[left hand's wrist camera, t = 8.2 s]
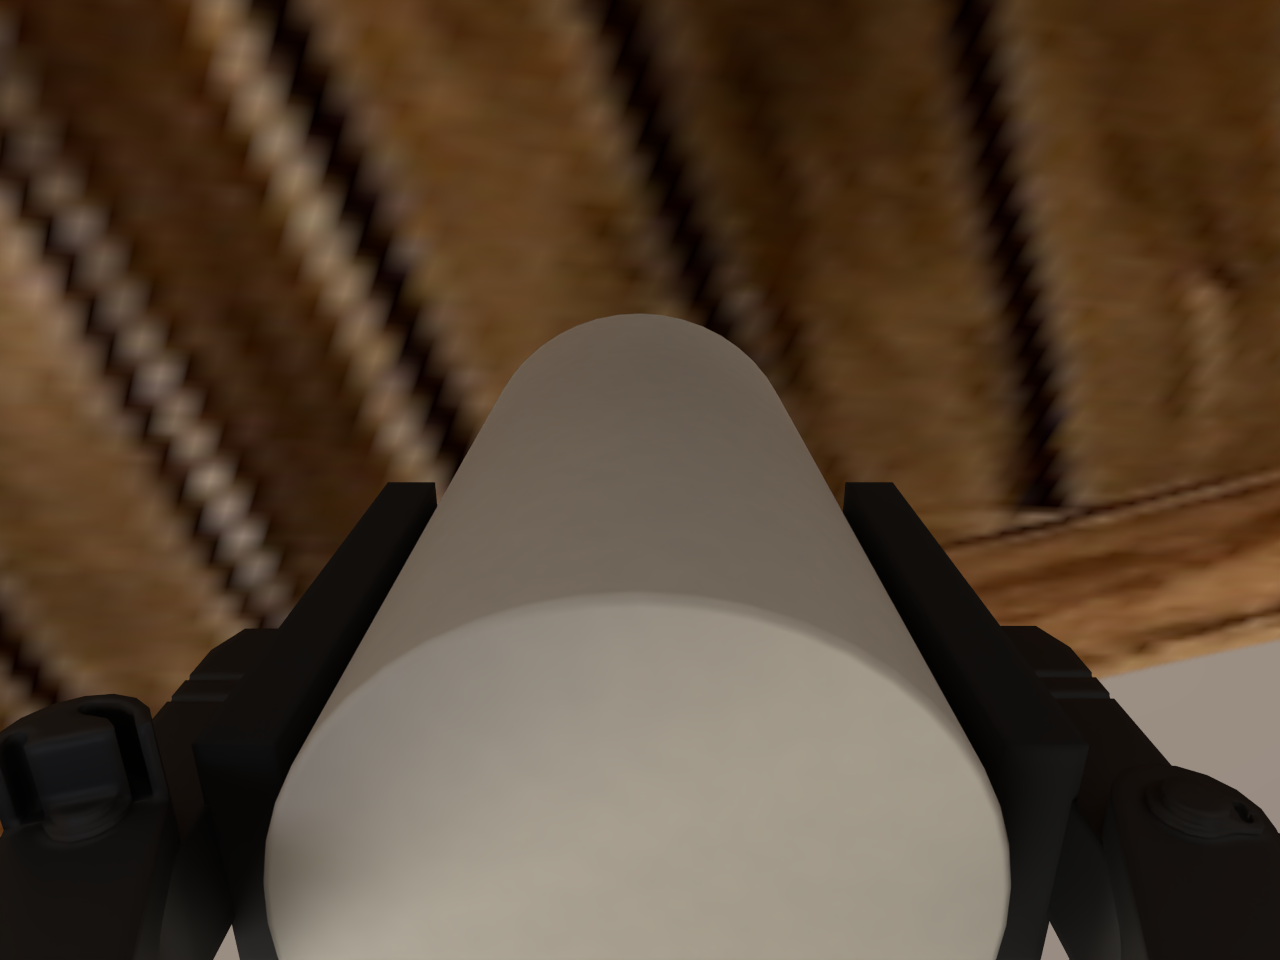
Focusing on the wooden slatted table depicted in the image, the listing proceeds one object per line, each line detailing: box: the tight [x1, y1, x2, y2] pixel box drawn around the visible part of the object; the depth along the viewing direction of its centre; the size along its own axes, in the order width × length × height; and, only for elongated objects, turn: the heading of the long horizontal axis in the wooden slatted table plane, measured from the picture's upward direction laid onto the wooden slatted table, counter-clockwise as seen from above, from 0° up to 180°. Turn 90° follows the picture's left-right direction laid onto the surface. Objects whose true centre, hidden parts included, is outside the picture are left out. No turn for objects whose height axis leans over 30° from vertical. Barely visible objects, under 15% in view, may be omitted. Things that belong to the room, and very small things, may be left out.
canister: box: [264, 314, 1011, 960], centre depth 13 cm, size 7×7×12 cm
